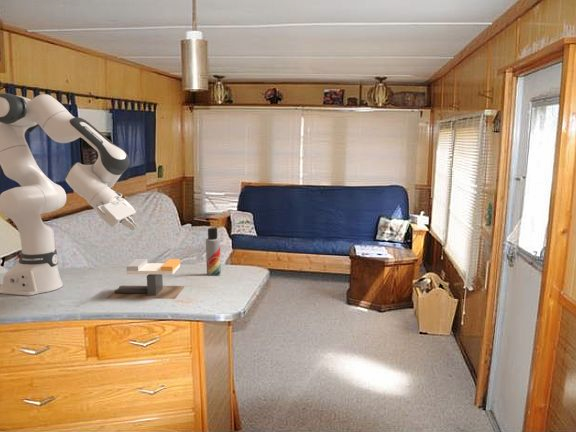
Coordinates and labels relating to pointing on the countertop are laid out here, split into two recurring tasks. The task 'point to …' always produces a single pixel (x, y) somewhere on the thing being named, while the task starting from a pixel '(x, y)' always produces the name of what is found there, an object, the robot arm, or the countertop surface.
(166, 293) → the mounting board
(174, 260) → the block
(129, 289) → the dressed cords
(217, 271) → the lotion bottle
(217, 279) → the countertop surface
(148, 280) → the block
